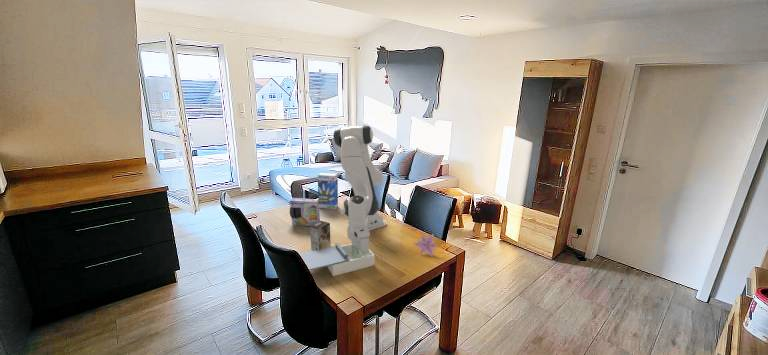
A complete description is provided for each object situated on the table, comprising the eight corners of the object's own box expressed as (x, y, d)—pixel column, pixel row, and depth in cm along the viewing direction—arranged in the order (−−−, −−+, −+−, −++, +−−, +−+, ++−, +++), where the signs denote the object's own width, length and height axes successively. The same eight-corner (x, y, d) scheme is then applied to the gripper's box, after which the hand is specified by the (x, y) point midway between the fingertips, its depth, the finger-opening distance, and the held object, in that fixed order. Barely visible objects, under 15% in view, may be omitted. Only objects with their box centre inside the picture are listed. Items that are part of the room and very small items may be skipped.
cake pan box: (290, 224, 205) (288, 199, 200) (293, 221, 210) (291, 196, 205) (317, 227, 202) (316, 201, 197) (320, 224, 206) (319, 199, 202)
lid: (338, 246, 166) (338, 241, 165) (349, 260, 152) (349, 255, 151) (296, 255, 156) (296, 250, 155) (304, 271, 142) (304, 266, 141)
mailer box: (361, 251, 173) (361, 241, 172) (374, 265, 160) (374, 254, 158) (323, 260, 164) (322, 250, 162) (333, 276, 150) (332, 265, 148)
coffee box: (322, 246, 178) (321, 220, 174) (331, 249, 175) (330, 222, 171) (310, 252, 171) (309, 225, 166) (319, 256, 168) (318, 228, 163)
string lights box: (318, 208, 234) (317, 174, 227) (321, 204, 242) (320, 172, 235) (335, 209, 232) (334, 175, 225) (338, 205, 240) (337, 173, 233)
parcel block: (359, 255, 166) (359, 241, 164) (362, 258, 163) (362, 244, 161) (352, 256, 164) (352, 242, 162) (355, 260, 161) (355, 246, 159)
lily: (410, 252, 176) (412, 242, 169) (421, 238, 183) (424, 228, 176) (429, 264, 171) (431, 254, 164) (439, 249, 178) (442, 239, 171)
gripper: (344, 221, 166) (344, 244, 170) (359, 237, 149) (359, 263, 153) (355, 219, 169) (355, 242, 173) (371, 234, 152) (371, 260, 156)
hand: (357, 252), depth 163 cm, fingers closed on parcel block, 4 cm apart
